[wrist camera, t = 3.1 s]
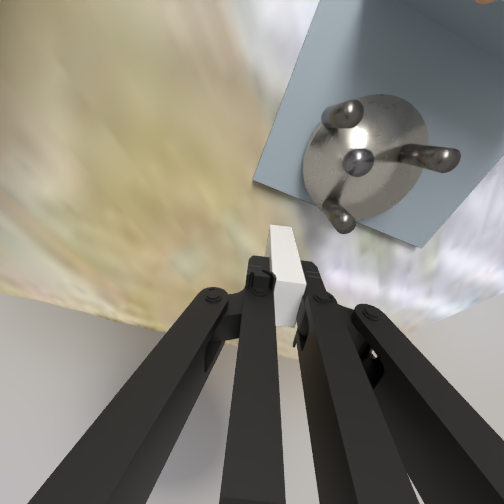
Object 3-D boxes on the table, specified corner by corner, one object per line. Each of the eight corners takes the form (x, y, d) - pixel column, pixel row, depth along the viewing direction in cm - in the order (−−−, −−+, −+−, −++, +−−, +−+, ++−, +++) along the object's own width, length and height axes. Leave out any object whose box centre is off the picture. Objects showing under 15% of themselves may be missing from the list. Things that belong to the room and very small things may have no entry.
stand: (253, 177, 27) (247, 206, 18) (343, -62, 18) (437, -283, 8) (416, 244, 31) (487, 299, 21) (563, 71, 21) (815, 26, 12)
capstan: (282, 192, 27) (288, 214, 20) (336, 72, 21) (369, 49, 14) (370, 228, 28) (403, 258, 22) (442, 126, 23) (515, 127, 16)
